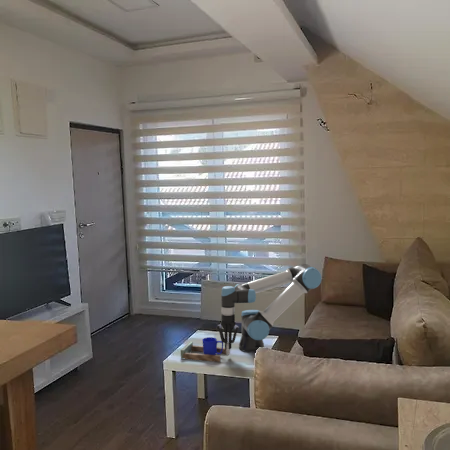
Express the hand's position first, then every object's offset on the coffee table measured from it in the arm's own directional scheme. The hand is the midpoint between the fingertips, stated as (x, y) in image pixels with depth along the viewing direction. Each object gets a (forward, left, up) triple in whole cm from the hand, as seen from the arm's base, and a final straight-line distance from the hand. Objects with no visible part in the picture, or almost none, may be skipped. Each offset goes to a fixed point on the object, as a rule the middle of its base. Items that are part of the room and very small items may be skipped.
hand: (228, 354), depth 269 cm
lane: (+14, 0, -2) cm, 14 cm away
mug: (+9, 0, -2) cm, 9 cm away
